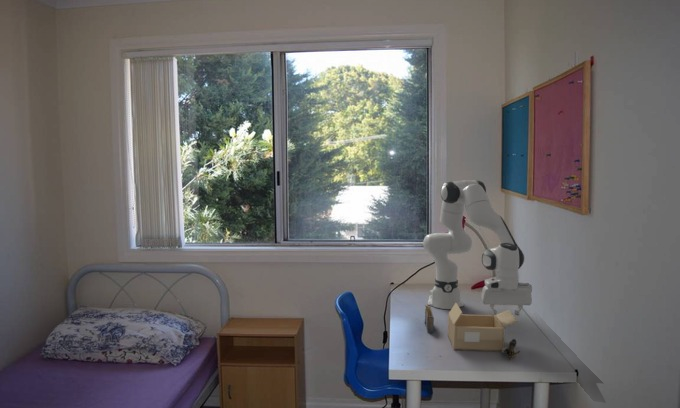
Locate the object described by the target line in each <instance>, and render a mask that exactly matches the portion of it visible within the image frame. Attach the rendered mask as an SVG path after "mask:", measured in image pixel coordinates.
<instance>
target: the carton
mask: <svg viewBox="0 0 680 408" xmlns="http://www.w3.org/2000/svg"><path fill="white" fill-rule="evenodd" d="M447 316H448V317H447V319H448V321H447V322H448V323H447V325H448V326H447V337H448V340H449V342H450V344H451V346H452V347H451V348H452V349H453V350H454V351H471V352H472V351H473V352H500V351H502V349H504V348H505V347H504V344H505V327H504V326H503V325H502V323H501V322H500V321H499V320H498V318H497V317H496V316H495V315H493V314H492V315H491V314H465V313H464V314H463V313H462V315H461V316H460V318H459V319H458V321H457V323H456V324H455V325H454V324H453V322H452V320H451V318H450V316H449V315H447Z"/></svg>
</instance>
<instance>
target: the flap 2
mask: <svg viewBox="0 0 680 408" xmlns="http://www.w3.org/2000/svg"><path fill="white" fill-rule="evenodd" d="M494 316H495V317H496V318H497V319H498V320H499V322H500V323H501V324H502V325H503V327H504V328H505V327H507V326H510V325H513V324H516V323H518V322H519V321H518V319H517V318H516V316H514V315H513V313H512V312H511V311H510V310H509V309H507V310H504V311H501V312H500V313H497V314H496V315H494Z"/></svg>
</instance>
